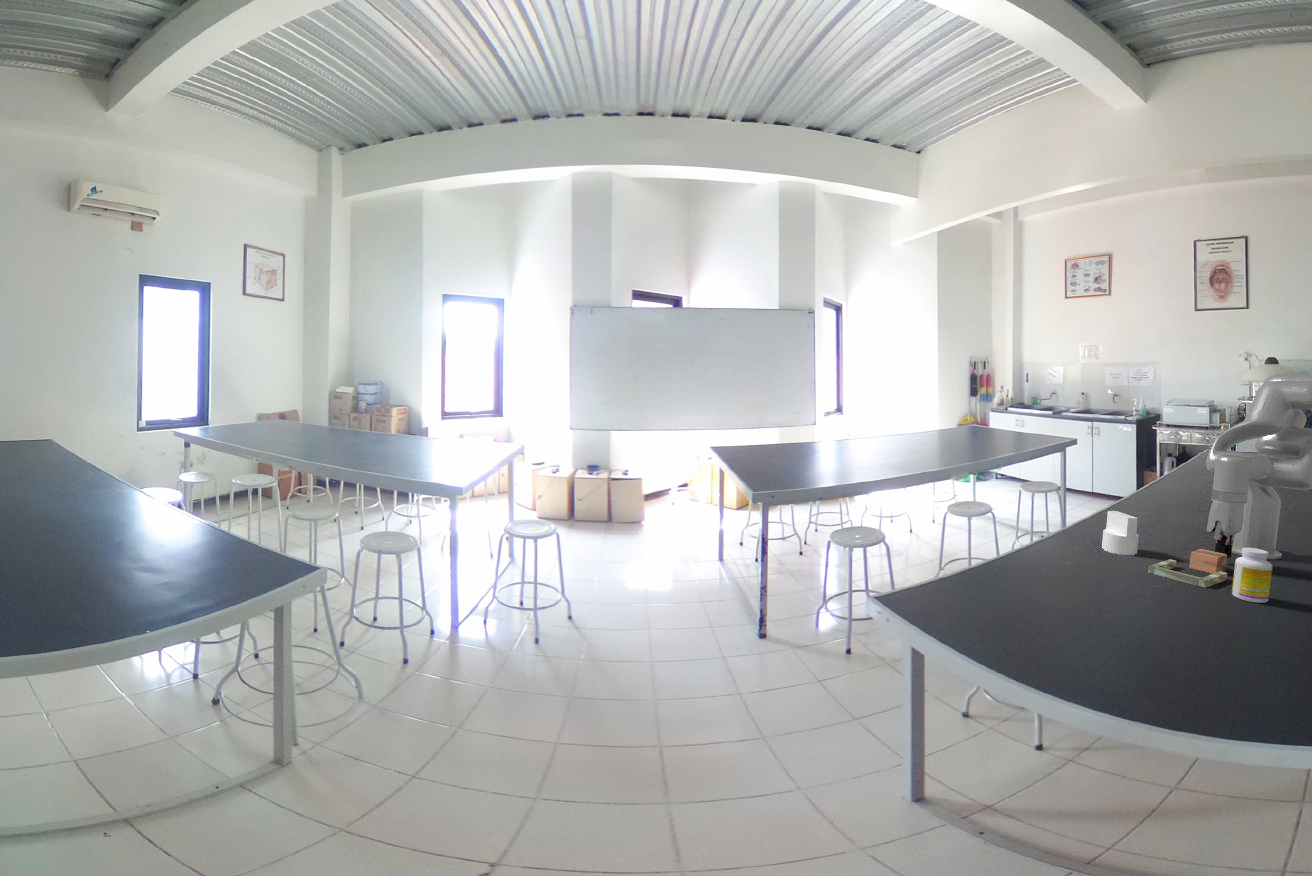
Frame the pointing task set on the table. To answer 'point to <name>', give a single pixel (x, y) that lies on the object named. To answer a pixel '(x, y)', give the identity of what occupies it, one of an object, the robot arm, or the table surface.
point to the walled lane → (1164, 571)
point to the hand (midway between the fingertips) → (1222, 556)
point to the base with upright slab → (1120, 534)
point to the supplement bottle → (1252, 576)
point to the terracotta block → (1208, 561)
